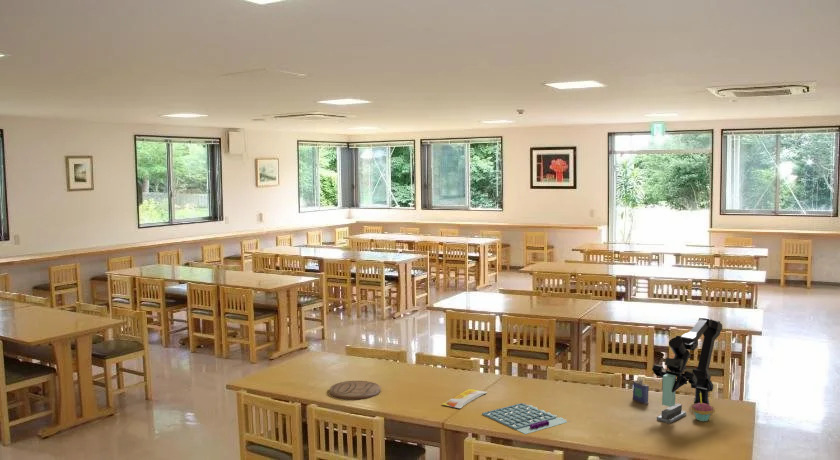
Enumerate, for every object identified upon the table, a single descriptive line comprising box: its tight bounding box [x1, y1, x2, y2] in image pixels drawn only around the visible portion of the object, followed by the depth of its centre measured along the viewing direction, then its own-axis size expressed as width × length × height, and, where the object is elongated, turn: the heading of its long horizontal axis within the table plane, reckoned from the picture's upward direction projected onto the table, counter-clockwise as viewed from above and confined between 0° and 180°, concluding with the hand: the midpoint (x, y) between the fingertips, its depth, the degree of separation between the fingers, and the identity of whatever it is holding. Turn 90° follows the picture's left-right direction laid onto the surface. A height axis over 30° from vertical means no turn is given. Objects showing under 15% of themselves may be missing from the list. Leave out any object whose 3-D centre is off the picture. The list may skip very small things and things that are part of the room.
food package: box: [441, 388, 488, 409], centre depth 335 cm, size 27×2×10 cm
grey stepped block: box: [656, 402, 687, 425], centre depth 310 cm, size 15×6×4 cm, turn 134°
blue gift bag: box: [632, 379, 650, 406], centre depth 331 cm, size 9×3×11 cm, turn 25°
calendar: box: [481, 402, 571, 435], centre depth 310 cm, size 27×28×2 cm
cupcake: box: [692, 392, 715, 422], centre depth 308 cm, size 9×8×12 cm
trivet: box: [329, 380, 382, 401], centre depth 347 cm, size 25×25×2 cm
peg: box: [661, 374, 677, 407], centre depth 307 cm, size 4×4×13 cm
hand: (667, 390), depth 306 cm, fingers closed on peg, 4 cm apart
